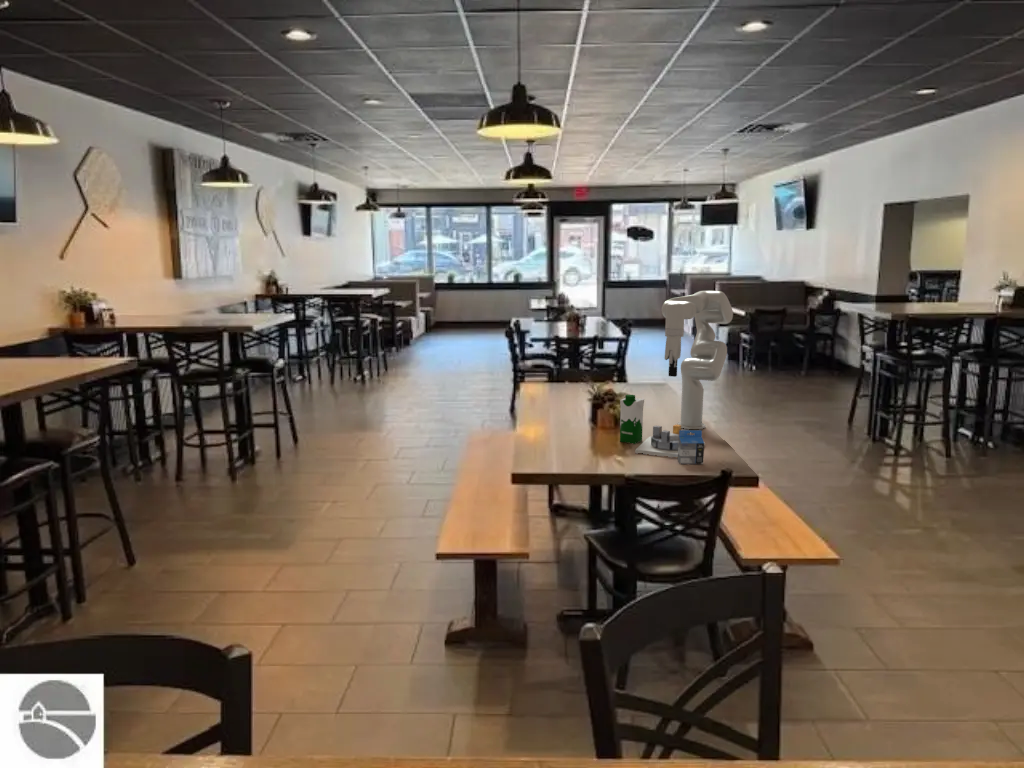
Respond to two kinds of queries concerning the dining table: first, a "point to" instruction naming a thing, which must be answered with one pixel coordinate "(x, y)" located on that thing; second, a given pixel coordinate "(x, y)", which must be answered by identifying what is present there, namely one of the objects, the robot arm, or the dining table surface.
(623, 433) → the milk carton
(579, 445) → the dining table surface
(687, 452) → the label tape cartridge
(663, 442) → the ring nut
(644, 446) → the cap base
